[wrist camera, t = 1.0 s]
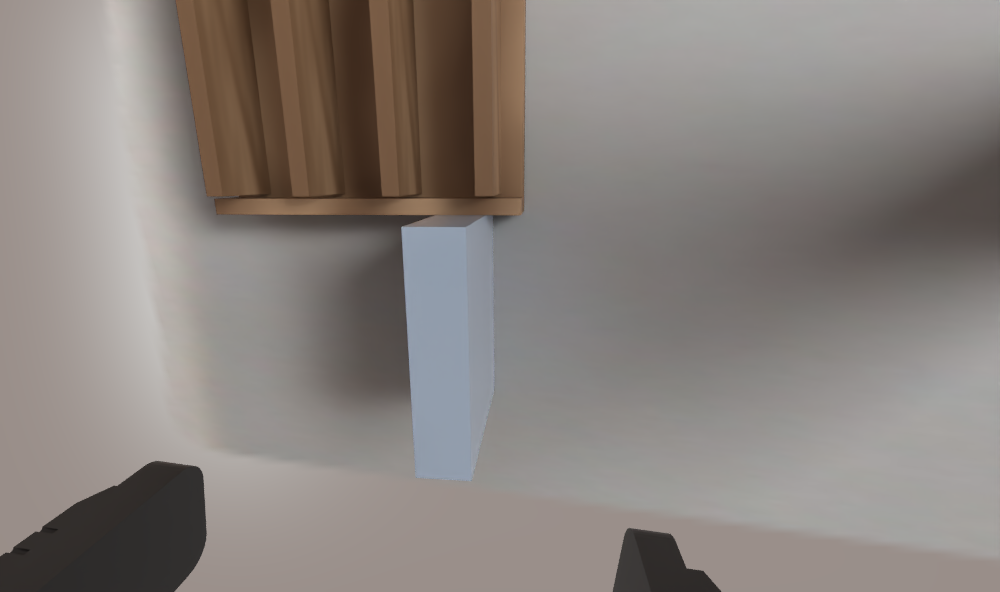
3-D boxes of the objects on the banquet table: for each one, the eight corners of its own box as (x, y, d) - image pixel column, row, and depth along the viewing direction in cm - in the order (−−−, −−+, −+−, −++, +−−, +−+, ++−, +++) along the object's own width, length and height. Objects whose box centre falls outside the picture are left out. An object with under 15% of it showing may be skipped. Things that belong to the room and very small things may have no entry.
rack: (526, -108, 22) (520, -192, 17) (523, 210, 26) (518, 218, 21) (213, -88, 24) (123, -159, 19) (254, 210, 27) (188, 217, 22)
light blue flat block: (493, 210, 26) (465, 227, 17) (494, 389, 29) (471, 480, 20) (449, 210, 26) (401, 226, 18) (455, 387, 29) (415, 477, 20)
